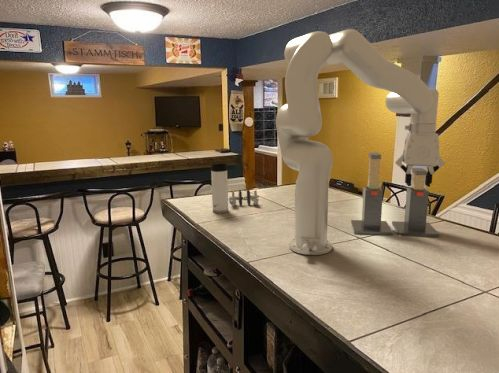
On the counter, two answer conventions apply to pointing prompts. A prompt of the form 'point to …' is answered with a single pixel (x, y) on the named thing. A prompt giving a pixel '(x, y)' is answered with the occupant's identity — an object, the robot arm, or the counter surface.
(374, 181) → the column
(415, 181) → the column
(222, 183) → the travel mug
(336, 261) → the counter surface
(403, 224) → the sleeve
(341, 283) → the counter surface
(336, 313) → the counter surface
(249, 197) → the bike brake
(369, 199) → the sleeve
